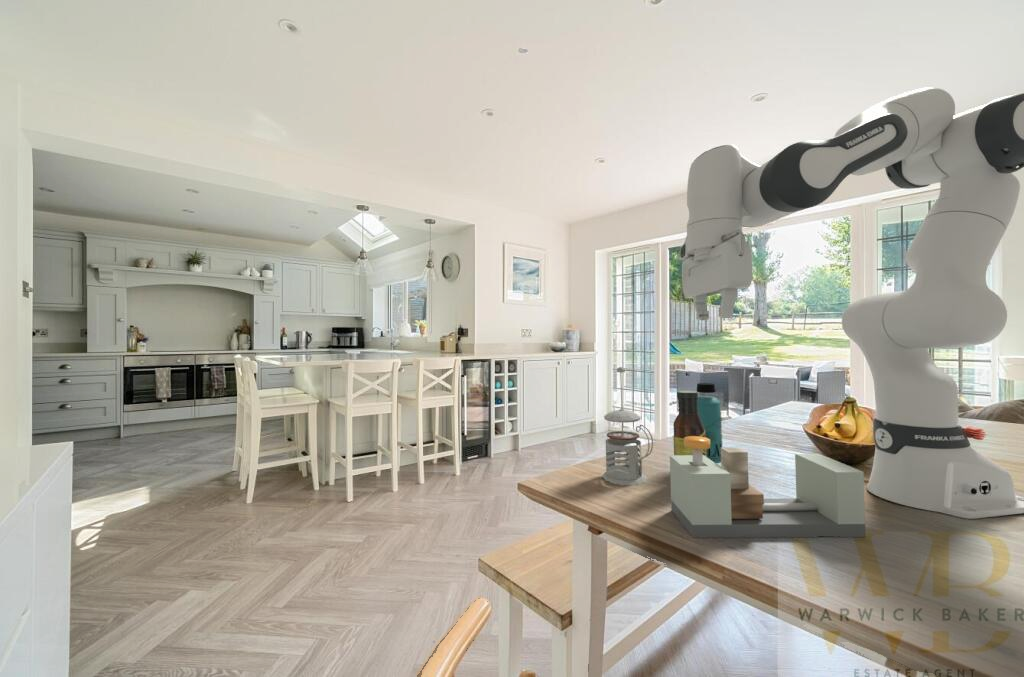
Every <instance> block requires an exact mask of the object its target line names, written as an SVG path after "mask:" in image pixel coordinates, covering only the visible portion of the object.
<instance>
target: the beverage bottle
mask: <svg viewBox="0 0 1024 677" xmlns="http://www.w3.org/2000/svg"><path fill="white" fill-rule="evenodd" d="M696 392H697V393H705V394H709V393H710V394H712V393H716V385H715V383H713V382H697V384H696ZM721 403H722V402H721V401H720V400H719V399H718V398H717V397H715V396H710V395H709V396H708V395H701V396H699V395H698V399H697V407H698V413H699V415H700V418H701V421H702V423H703V426H704V428H705V437H706V438H708V439H710V448H709V449H706V457H707V458H709V459H710V460H711V461H713V462H714V463H716V464H721V447H723V434H722V432H723V429H722V423H723V422H722V421H723V418H722V414H723V412H722V411H721V410H722V409H721V407H722V406H721V405H722V404H721Z"/></svg>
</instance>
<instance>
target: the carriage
mask: <svg viewBox="0 0 1024 677" xmlns="http://www.w3.org/2000/svg"><path fill="white" fill-rule="evenodd" d="M748 455H749V453H748V451H746V450H744V449H743V448H740V447H739V446H734V447H733V446H731V447H723V446H722V447H721V463H720V467H721V468H723V469H724V470H726V471H727V472H729V473H730V483H731V517H732V519H763V506H762V505H764V499H765V497H764V495H765V494H763V493H762V492H761V491H759V490H758V489H756V488H755V487H753V486H752V485H750V484H749V456H748Z"/></svg>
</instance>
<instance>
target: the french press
mask: <svg viewBox="0 0 1024 677" xmlns="http://www.w3.org/2000/svg"><path fill="white" fill-rule="evenodd" d="M616 373H620V374H619V375H620V407H621V408H619V409H616V410H612V411H610V412H609V411H608V412H607V413H606V414H605V415H604V416H603V419H604V420H605V421H607V422H612V423H621V430H612V431H610V432H609V431H608V432H607V433H606V437H607V439H606V440H605V466H606V471H605V472H604V473H603V474H602V475H603V478H604V479H605V480H606V481H605V480H604V479H603V480H604V481H605V482H607V481H609V482H611V483H610V484H612V483H613V485H617V484H618V486H630V485H631V486H637V485H636V484H639V485H641V483H642V484H644V483H643V482H645V483H646V482H647V476H645V475H644V473H643V460H644V459H645V458H647V457H648V456H650V455H651V453H652V451H653V447H654V439H653V435H652V433H651V432H650V430H649V429H648V428H647V427H646V426H645V425H643V424H640V425H637V426H636V427H635V431H636V432H633V431H627V430H624V424H625V423H634V422H635V423H636V422H638V421H640V420H641V418H642V417H641V416H640V415H639V414H637V413H635V412H634V411H632V410H628V409H624V408H623V389H622V388H623V387H622V386H623V384H622V373H626V369H625V368H624V367H623V366H619V367H617V368H616ZM638 428H639V429H638ZM643 428H644V429H645V430H646V431H647V432H648V433H649V435H650V438H649V436H648V434H647V432H646V431H645V430H644V429H643ZM641 431H643V433H644V434H645V436H646V439H647V443H648V444H647V445H648V447H647V451H646V453H645V455H644V456H642V441H641V440H640V439H639V438H640V434H639V432H641ZM650 439H651V448H650ZM630 444H635V445H630ZM624 452H625V453H624ZM623 453H624V454H623ZM621 458H622V459H621ZM623 458H624V459H623ZM621 464H622V465H621ZM609 482H608V483H609Z"/></svg>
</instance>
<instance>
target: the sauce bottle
mask: <svg viewBox="0 0 1024 677" xmlns="http://www.w3.org/2000/svg"><path fill="white" fill-rule="evenodd" d="M698 394H699V392H697V390H696V391H695V390H679V391H677V392H676V396H677V397H676V398H677V404H678V408H677V410H678V415H677V416H676V418H675V419H674V421H673V437H672V438H673V456H674V455H692V449H691V448H688V447H685V446H684V438H685V437H688V436H699V437H705V428H704V426H703V423H702V421H701V418H700V415H699V413H698V407H697V399H698V397H699V395H698ZM705 438H706V437H705ZM703 455H704V456H706V449H703Z"/></svg>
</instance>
